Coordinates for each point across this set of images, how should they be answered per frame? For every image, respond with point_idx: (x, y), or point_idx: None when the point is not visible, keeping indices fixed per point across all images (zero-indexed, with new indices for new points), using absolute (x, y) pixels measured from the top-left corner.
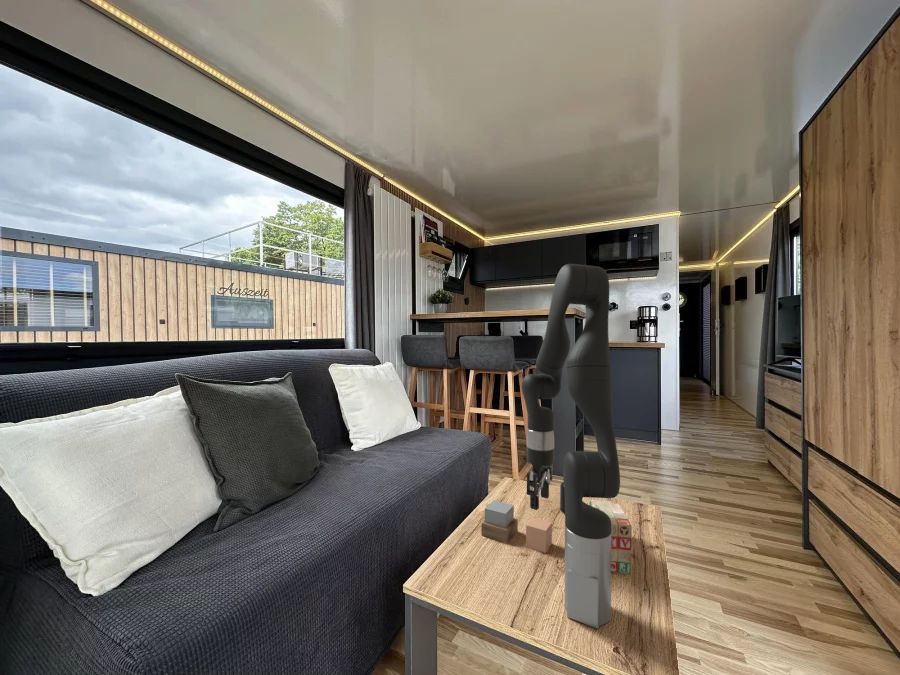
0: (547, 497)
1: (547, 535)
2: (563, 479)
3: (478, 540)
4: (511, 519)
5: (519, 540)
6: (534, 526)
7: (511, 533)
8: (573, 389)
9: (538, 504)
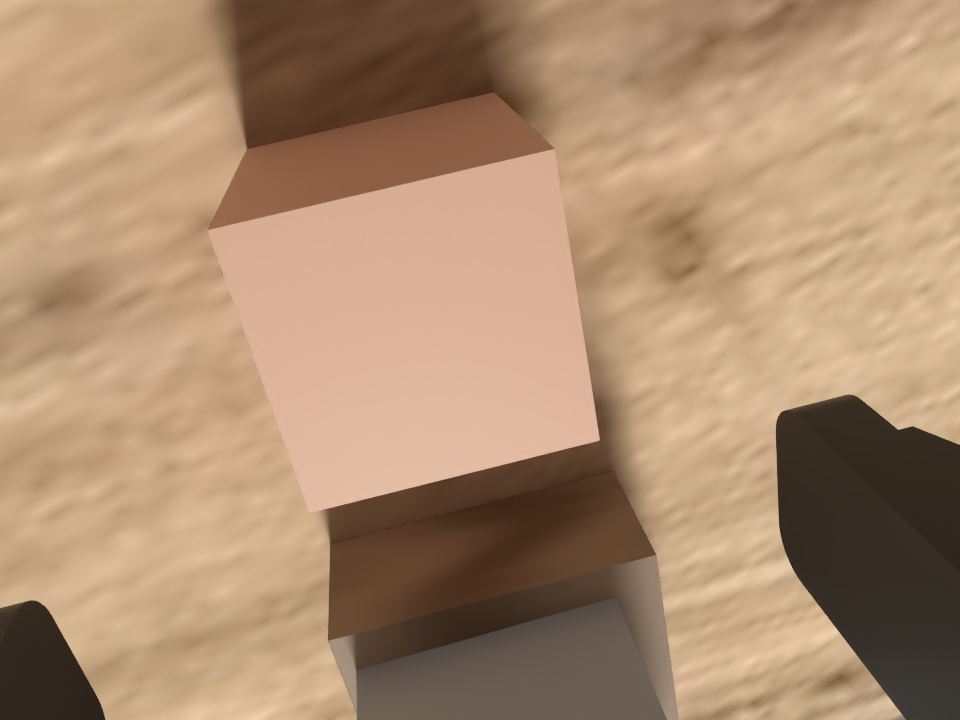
0: (26, 620)
1: (445, 144)
2: None
3: (729, 638)
4: (428, 665)
5: None
6: (551, 344)
7: (506, 531)
8: None
9: (880, 459)
